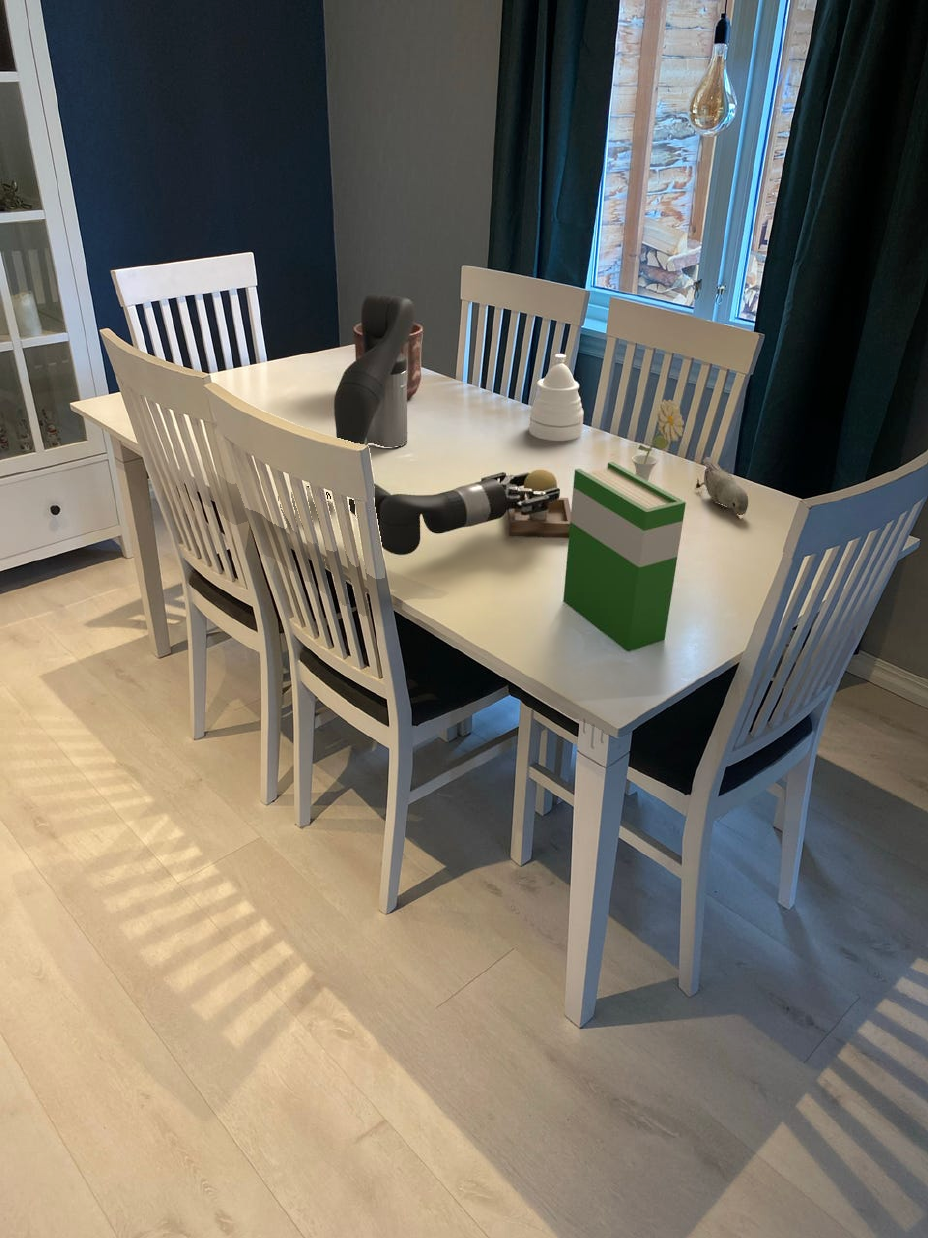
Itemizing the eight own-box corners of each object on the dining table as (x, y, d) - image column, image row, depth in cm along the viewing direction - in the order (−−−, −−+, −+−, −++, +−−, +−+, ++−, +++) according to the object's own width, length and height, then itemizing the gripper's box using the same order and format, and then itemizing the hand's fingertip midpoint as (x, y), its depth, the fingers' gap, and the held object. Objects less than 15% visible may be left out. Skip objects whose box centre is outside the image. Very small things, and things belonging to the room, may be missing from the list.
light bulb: (559, 515, 191) (562, 468, 186) (547, 528, 186) (551, 479, 181) (529, 509, 193) (531, 462, 188) (516, 521, 188) (519, 473, 183)
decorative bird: (730, 522, 193) (736, 487, 189) (689, 490, 206) (695, 457, 202) (753, 519, 195) (760, 484, 191) (711, 488, 208) (717, 455, 204)
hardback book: (563, 601, 164) (574, 469, 152) (598, 591, 167) (612, 461, 155) (627, 651, 151) (646, 512, 139) (664, 640, 154) (685, 502, 142)
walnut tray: (509, 536, 185) (510, 522, 183) (507, 509, 195) (508, 496, 194) (572, 538, 185) (573, 523, 183) (567, 511, 195) (568, 497, 194)
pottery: (420, 408, 246) (421, 337, 237) (352, 406, 246) (349, 335, 237) (424, 387, 261) (424, 319, 252) (359, 385, 261) (357, 317, 252)
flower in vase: (629, 542, 184) (645, 415, 171) (596, 518, 193) (608, 396, 180) (684, 529, 189) (703, 405, 176) (649, 507, 198) (665, 387, 185)
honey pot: (528, 421, 240) (532, 349, 231) (580, 423, 240) (586, 350, 231) (529, 440, 229) (534, 365, 220) (583, 442, 229) (590, 366, 220)
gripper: (453, 508, 184) (520, 490, 193) (498, 536, 175) (566, 516, 183) (454, 471, 181) (522, 454, 189) (500, 498, 171) (570, 479, 179)
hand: (544, 485), depth 186 cm, fingers open, 8 cm apart
